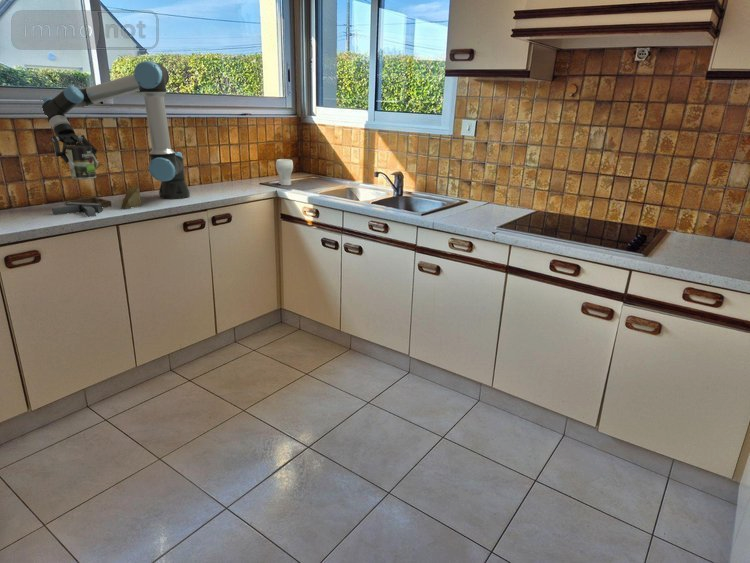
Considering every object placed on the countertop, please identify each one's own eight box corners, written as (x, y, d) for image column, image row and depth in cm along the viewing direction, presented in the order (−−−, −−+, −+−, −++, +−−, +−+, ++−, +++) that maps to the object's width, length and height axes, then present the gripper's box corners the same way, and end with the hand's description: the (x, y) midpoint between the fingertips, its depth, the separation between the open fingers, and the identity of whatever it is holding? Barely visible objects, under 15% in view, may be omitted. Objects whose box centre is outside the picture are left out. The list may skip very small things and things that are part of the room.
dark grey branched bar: (92, 217, 214) (91, 209, 213) (49, 214, 216) (47, 206, 215) (108, 211, 225) (106, 204, 224) (66, 209, 226) (65, 201, 225)
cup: (292, 186, 306) (291, 161, 301) (274, 185, 306) (274, 160, 301) (294, 183, 316) (294, 159, 311) (278, 182, 316) (277, 158, 311)
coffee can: (101, 176, 233) (96, 145, 229) (85, 180, 224) (80, 147, 219) (82, 175, 235) (77, 144, 230) (65, 178, 226) (59, 146, 221)
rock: (122, 205, 227) (145, 200, 233) (115, 189, 228) (137, 184, 233) (121, 216, 236) (142, 210, 241) (113, 200, 236) (135, 195, 242)
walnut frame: (111, 206, 236) (110, 201, 235) (81, 210, 225) (80, 205, 224) (96, 202, 243) (95, 197, 242) (65, 206, 232) (64, 201, 232)
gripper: (85, 132, 240) (107, 169, 237) (33, 134, 223) (57, 173, 220) (89, 122, 235) (112, 158, 232) (36, 122, 218) (60, 162, 215)
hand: (85, 166), depth 226 cm, fingers closed on coffee can, 10 cm apart
